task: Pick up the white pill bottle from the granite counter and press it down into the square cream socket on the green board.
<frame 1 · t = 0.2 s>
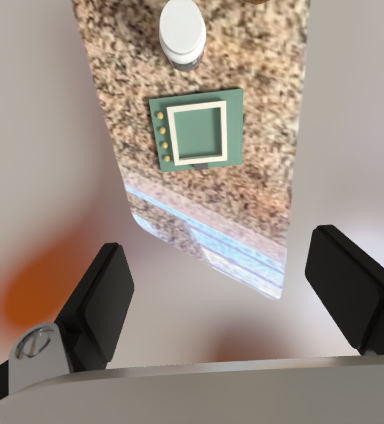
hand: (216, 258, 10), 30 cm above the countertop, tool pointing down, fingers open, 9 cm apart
board: (198, 133, 36), on the countertop
pill bottle: (184, 49, 31), on the countertop
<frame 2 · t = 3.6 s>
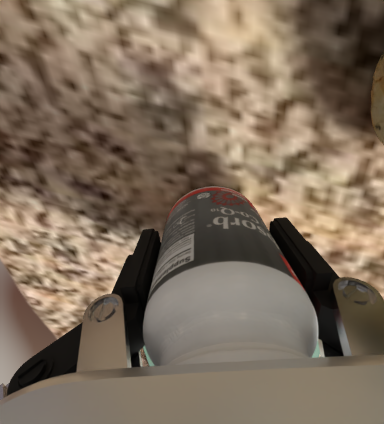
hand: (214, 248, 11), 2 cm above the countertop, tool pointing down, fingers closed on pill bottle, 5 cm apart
pill bottle: (210, 224, 13), on the countertop, touching gripper
when the fingers open (4 cm above the countertop, at t = 8.7 s): pill bottle stays where it is, resting on board.
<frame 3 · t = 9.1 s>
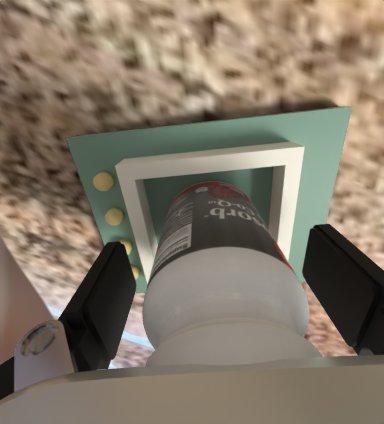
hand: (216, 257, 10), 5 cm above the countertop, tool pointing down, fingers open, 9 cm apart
board: (209, 214, 14), on the countertop
pill bottle: (209, 218, 14), point 1 cm above the countertop, touching board
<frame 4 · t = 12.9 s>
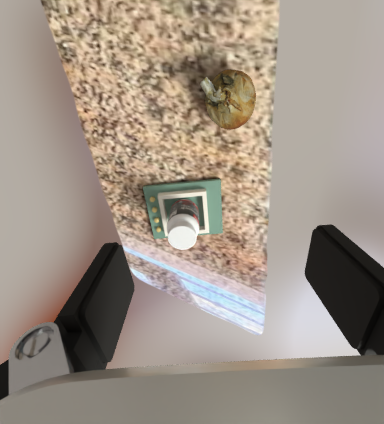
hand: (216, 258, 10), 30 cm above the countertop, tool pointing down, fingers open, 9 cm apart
board: (185, 209, 43), on the countertop
pill bottle: (184, 210, 42), point 1 cm above the countertop, touching board
onion: (225, 101, 34), on the countertop
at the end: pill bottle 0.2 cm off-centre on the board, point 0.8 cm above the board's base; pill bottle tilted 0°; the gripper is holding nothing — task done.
